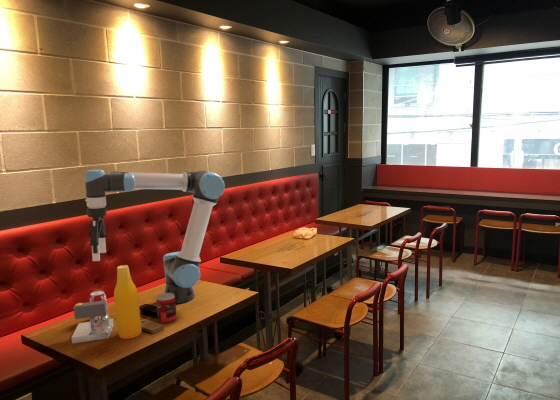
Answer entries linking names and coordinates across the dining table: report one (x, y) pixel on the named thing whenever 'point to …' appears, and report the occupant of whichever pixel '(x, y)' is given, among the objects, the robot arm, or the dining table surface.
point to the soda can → (98, 297)
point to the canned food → (166, 307)
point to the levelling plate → (93, 330)
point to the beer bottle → (126, 305)
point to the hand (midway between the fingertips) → (99, 256)
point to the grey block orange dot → (90, 310)
